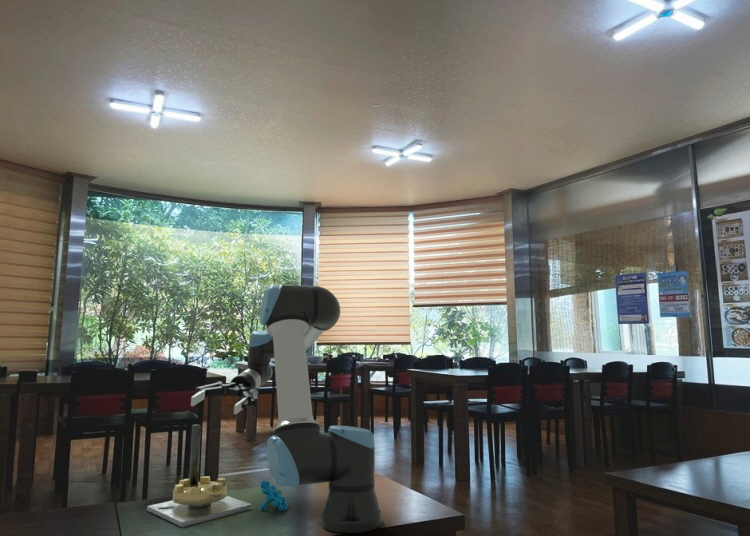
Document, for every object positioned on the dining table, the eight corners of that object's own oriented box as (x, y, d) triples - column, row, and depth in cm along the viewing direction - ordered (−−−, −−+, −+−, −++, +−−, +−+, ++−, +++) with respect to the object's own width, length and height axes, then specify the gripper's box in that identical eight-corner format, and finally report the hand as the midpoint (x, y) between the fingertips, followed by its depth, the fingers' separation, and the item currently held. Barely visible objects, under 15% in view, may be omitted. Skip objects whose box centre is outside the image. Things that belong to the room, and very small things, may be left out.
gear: (282, 510, 132) (259, 480, 135) (266, 527, 131) (242, 496, 134) (294, 504, 143) (272, 476, 146) (279, 519, 142) (257, 491, 145)
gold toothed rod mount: (234, 498, 137) (237, 427, 140) (181, 508, 129) (185, 432, 132) (216, 487, 148) (218, 422, 152) (166, 496, 140) (170, 426, 143)
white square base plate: (251, 509, 139) (251, 498, 139) (181, 527, 124) (182, 515, 125) (214, 495, 152) (214, 485, 153) (147, 510, 138) (147, 499, 138)
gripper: (279, 401, 166) (252, 425, 145) (209, 388, 171) (173, 410, 150) (281, 379, 166) (254, 400, 145) (211, 366, 170) (175, 386, 149)
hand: (213, 405), depth 147 cm, fingers open, 13 cm apart
